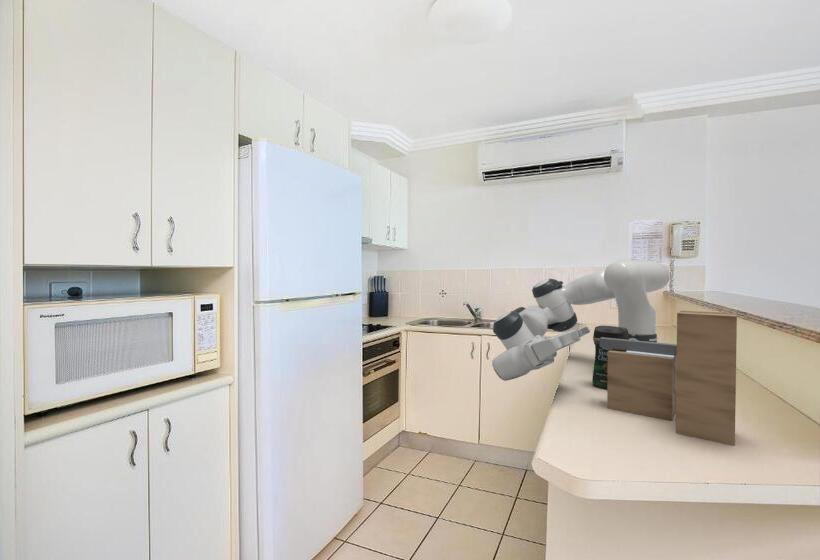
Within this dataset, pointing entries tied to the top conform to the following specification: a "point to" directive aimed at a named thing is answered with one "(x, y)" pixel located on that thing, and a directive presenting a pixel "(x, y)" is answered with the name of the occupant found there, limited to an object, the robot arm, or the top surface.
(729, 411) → the walnut stand
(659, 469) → the top surface
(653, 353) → the notepad
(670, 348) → the marker
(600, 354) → the coffee jar
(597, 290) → the robot arm
